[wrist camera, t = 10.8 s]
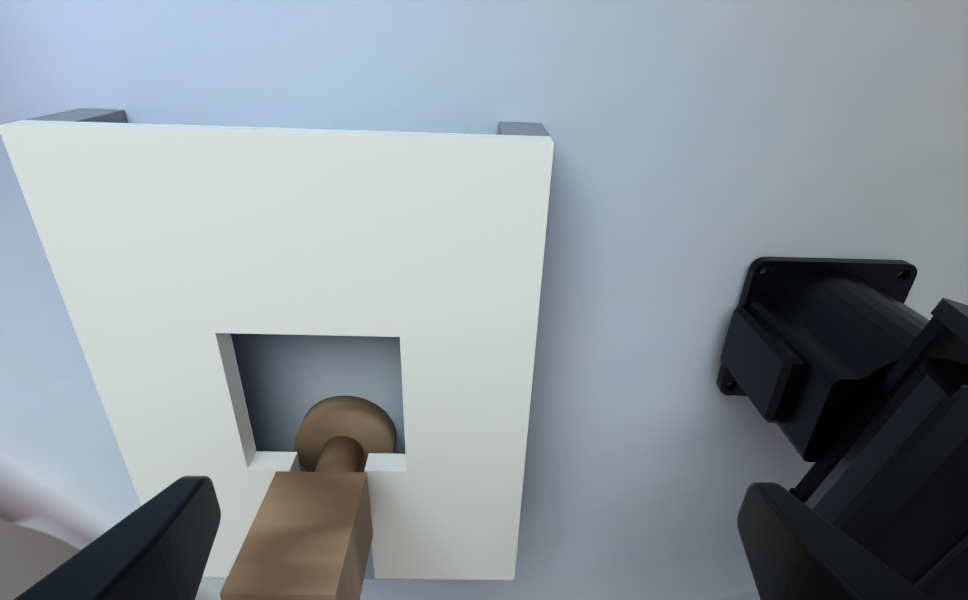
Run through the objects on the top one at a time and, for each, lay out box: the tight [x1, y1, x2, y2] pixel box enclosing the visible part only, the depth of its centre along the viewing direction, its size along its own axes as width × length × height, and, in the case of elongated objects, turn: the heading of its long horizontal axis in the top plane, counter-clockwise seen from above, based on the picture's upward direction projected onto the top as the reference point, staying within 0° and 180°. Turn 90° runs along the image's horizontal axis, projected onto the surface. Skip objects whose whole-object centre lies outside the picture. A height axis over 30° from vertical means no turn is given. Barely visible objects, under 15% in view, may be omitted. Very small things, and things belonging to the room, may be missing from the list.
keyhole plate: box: [0, 109, 554, 580], centre depth 21 cm, size 16×20×4 cm
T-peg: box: [220, 396, 396, 600], centre depth 21 cm, size 4×4×9 cm
